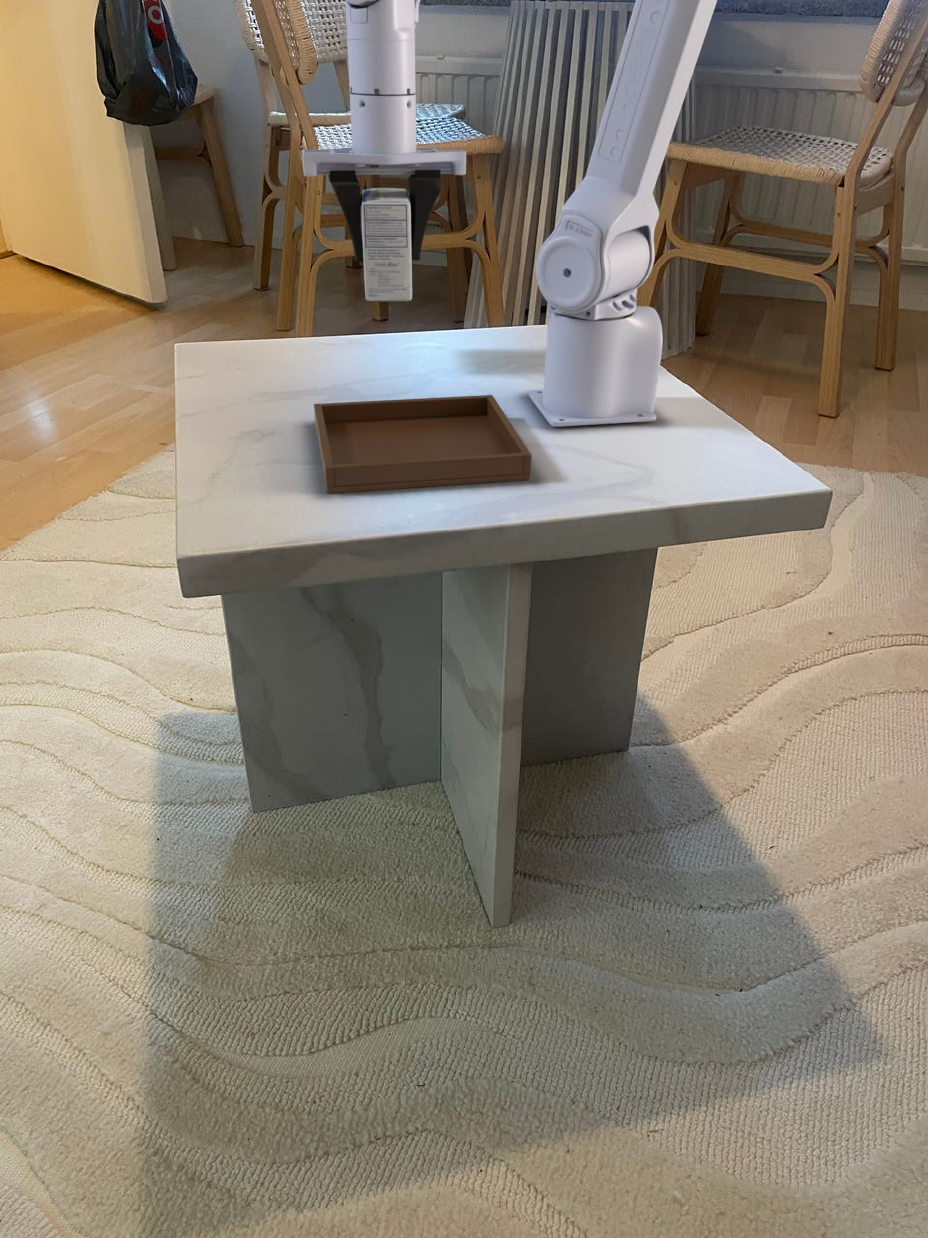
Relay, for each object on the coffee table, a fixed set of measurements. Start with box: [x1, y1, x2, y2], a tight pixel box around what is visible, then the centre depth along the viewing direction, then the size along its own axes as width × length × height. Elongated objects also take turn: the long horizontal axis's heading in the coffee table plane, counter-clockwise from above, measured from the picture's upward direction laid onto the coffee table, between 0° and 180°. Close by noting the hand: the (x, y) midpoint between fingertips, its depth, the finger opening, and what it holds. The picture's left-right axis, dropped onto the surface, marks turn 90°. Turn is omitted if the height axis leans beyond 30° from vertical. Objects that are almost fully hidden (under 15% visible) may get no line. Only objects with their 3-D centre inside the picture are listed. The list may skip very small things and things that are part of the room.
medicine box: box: [361, 187, 413, 302], centre depth 86 cm, size 8×4×9 cm, turn 5°
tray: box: [313, 394, 533, 494], centre depth 72 cm, size 15×13×2 cm
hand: (387, 259), depth 86 cm, fingers closed on medicine box, 5 cm apart
